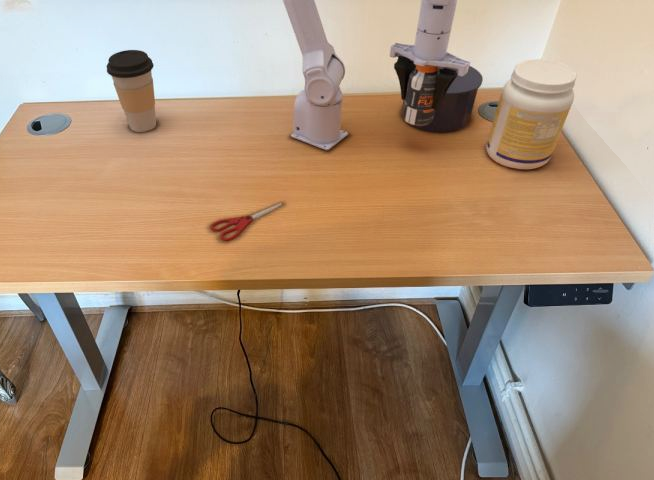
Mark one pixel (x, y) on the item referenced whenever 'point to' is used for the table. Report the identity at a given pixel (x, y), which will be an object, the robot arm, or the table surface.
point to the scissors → (238, 223)
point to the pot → (450, 113)
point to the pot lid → (465, 82)
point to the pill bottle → (420, 95)
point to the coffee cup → (134, 87)
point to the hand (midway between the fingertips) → (420, 102)
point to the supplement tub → (531, 113)
